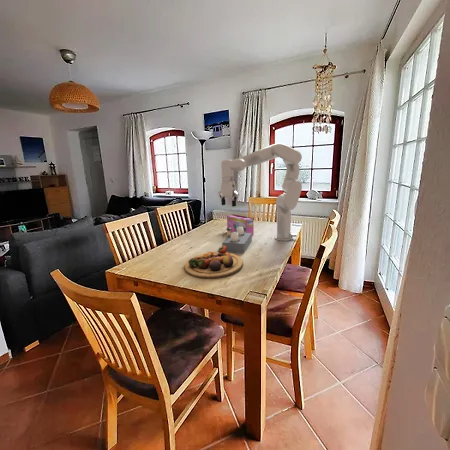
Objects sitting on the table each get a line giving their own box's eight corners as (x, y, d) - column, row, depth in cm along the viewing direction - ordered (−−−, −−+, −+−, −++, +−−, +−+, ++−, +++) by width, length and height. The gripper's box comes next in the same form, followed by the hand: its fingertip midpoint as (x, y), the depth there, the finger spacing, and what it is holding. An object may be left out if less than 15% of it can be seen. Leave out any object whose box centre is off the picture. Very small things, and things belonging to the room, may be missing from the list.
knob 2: (244, 235, 172) (243, 226, 170) (242, 237, 168) (242, 228, 166) (238, 235, 173) (237, 226, 172) (236, 237, 169) (236, 227, 167)
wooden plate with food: (212, 252, 157) (211, 239, 155) (254, 262, 137) (253, 248, 135) (172, 270, 133) (170, 256, 131) (216, 286, 114) (215, 269, 111)
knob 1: (239, 242, 159) (238, 232, 157) (237, 244, 155) (237, 233, 153) (232, 241, 160) (232, 231, 159) (230, 243, 156) (230, 233, 155)
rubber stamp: (231, 236, 166) (231, 227, 165) (230, 237, 164) (230, 228, 162) (227, 236, 167) (227, 227, 166) (226, 237, 164) (225, 228, 163)
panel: (251, 241, 174) (251, 232, 173) (244, 253, 152) (243, 243, 150) (232, 240, 178) (232, 232, 177) (222, 251, 156) (222, 242, 155)
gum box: (226, 231, 201) (225, 215, 198) (233, 229, 206) (232, 213, 203) (246, 237, 183) (246, 219, 180) (254, 235, 188) (253, 217, 185)
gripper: (241, 179, 156) (242, 206, 160) (222, 178, 168) (223, 203, 172) (233, 180, 151) (234, 207, 155) (214, 179, 163) (215, 205, 167)
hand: (228, 205), depth 164 cm, fingers open, 9 cm apart
